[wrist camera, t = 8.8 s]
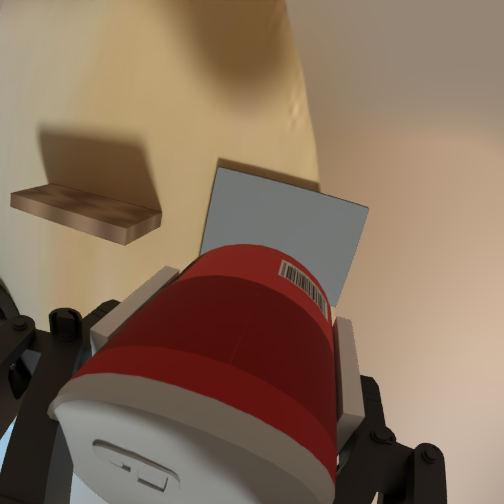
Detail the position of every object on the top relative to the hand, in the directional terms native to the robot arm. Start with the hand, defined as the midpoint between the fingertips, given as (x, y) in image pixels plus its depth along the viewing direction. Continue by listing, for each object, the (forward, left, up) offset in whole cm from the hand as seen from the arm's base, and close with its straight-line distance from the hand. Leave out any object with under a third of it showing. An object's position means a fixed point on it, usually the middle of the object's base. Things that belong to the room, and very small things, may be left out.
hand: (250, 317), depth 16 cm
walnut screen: (-20, -2, -16) cm, 25 cm away
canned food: (0, 0, -1) cm, 1 cm away
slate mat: (0, 0, -16) cm, 16 cm away
